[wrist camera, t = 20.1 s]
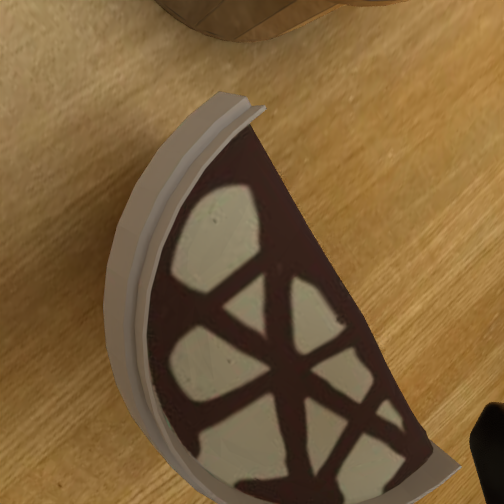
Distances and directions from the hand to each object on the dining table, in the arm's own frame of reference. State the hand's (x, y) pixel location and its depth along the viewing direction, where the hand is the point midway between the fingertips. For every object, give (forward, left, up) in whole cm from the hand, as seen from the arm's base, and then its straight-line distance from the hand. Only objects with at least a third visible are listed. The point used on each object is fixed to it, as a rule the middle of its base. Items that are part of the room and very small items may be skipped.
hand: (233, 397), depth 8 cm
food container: (+1, -2, -12) cm, 12 cm away
